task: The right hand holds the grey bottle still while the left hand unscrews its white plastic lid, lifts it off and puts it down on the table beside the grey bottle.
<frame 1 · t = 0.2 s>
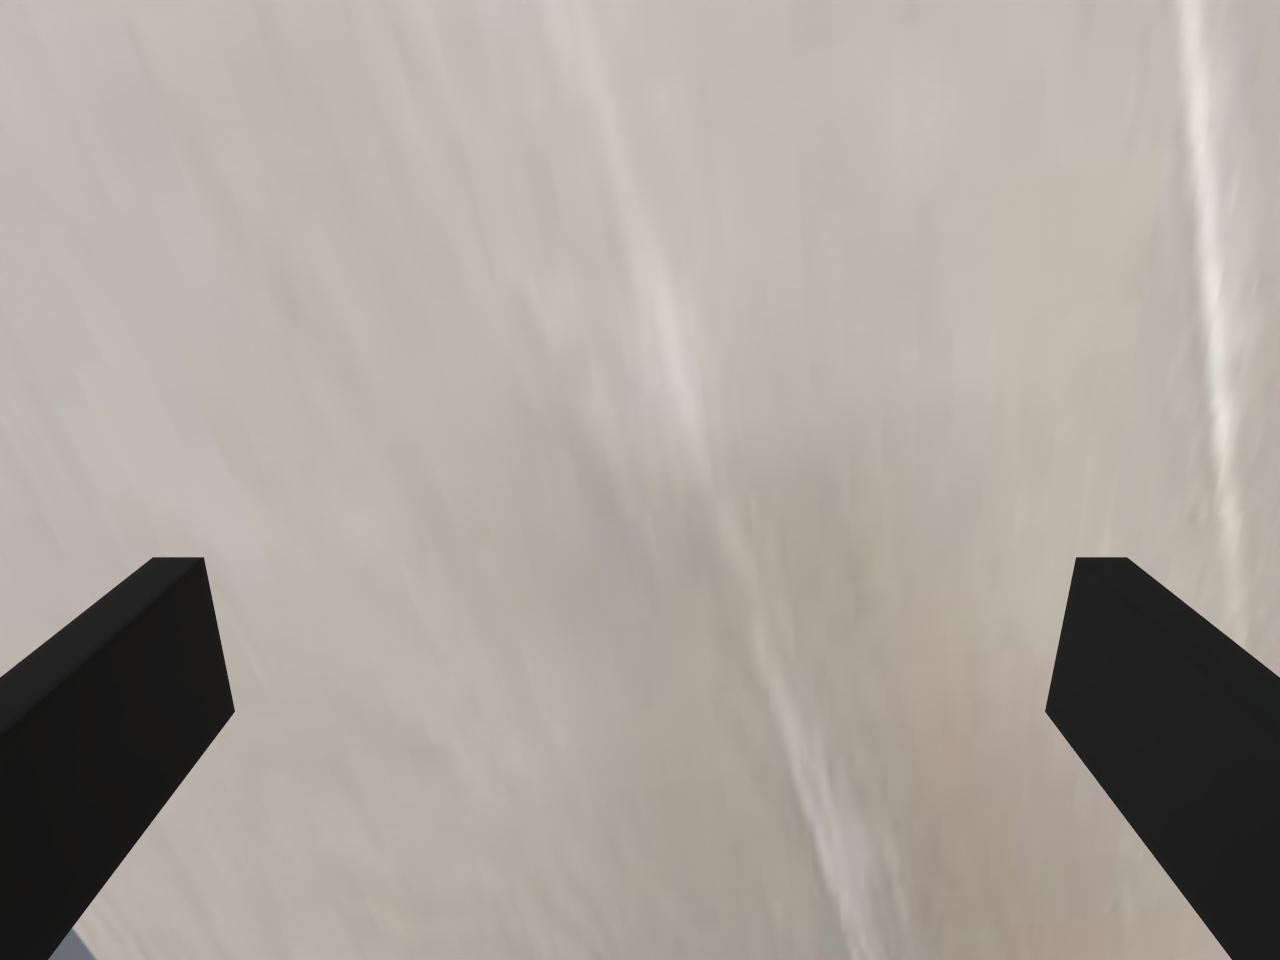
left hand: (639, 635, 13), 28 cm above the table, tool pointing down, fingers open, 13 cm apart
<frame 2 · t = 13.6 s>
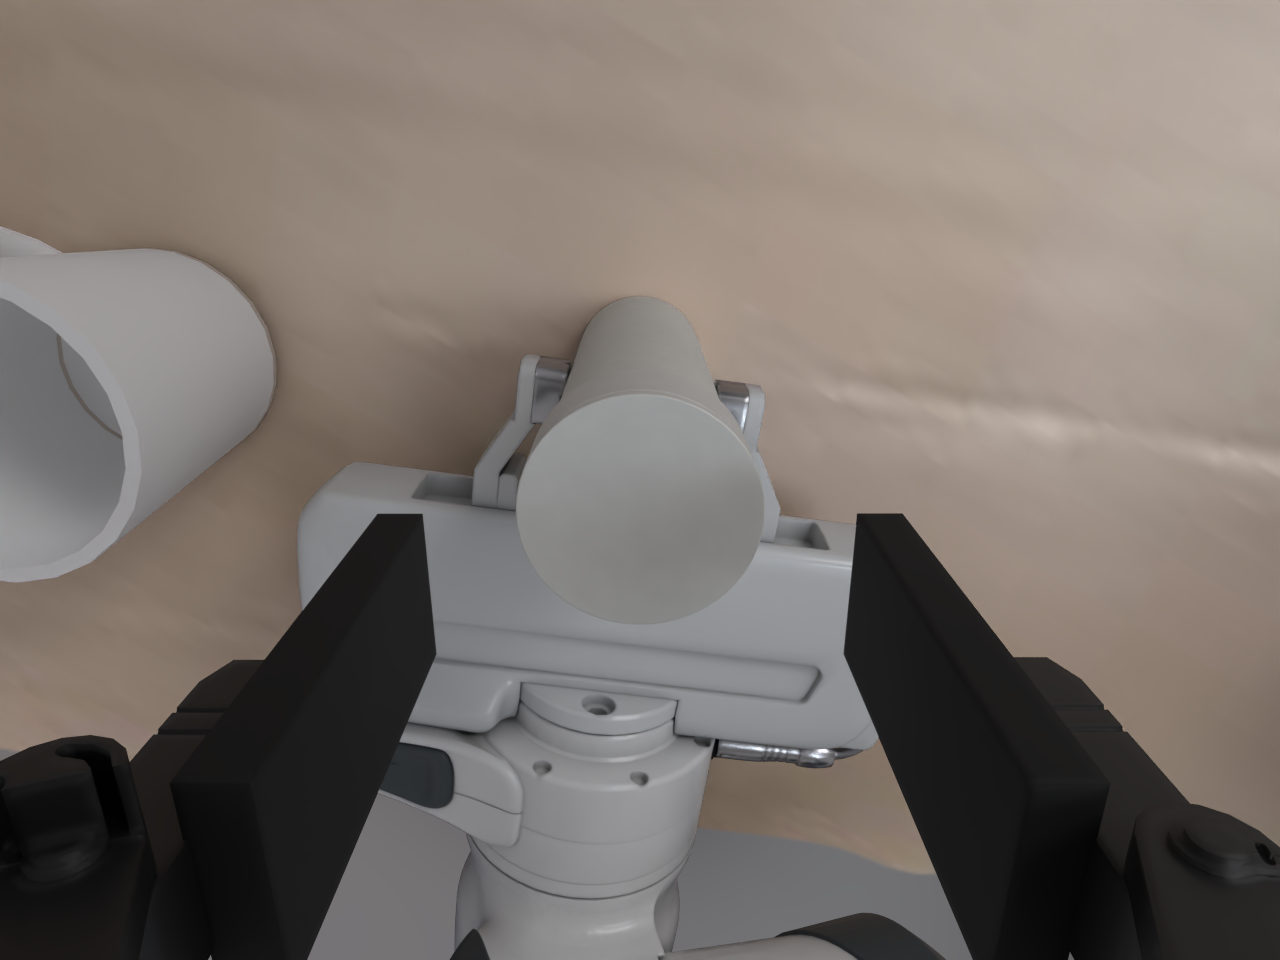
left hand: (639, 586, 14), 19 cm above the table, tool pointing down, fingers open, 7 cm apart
right hand: (642, 372, 26), fingers closed on grey bottle, 5 cm apart
lid: (640, 509, 18), point 16 cm above the table, screwed on, not yet turned
mug: (159, 331, 32), on the table
grey bottle: (639, 356, 32), on the table, touching right hand
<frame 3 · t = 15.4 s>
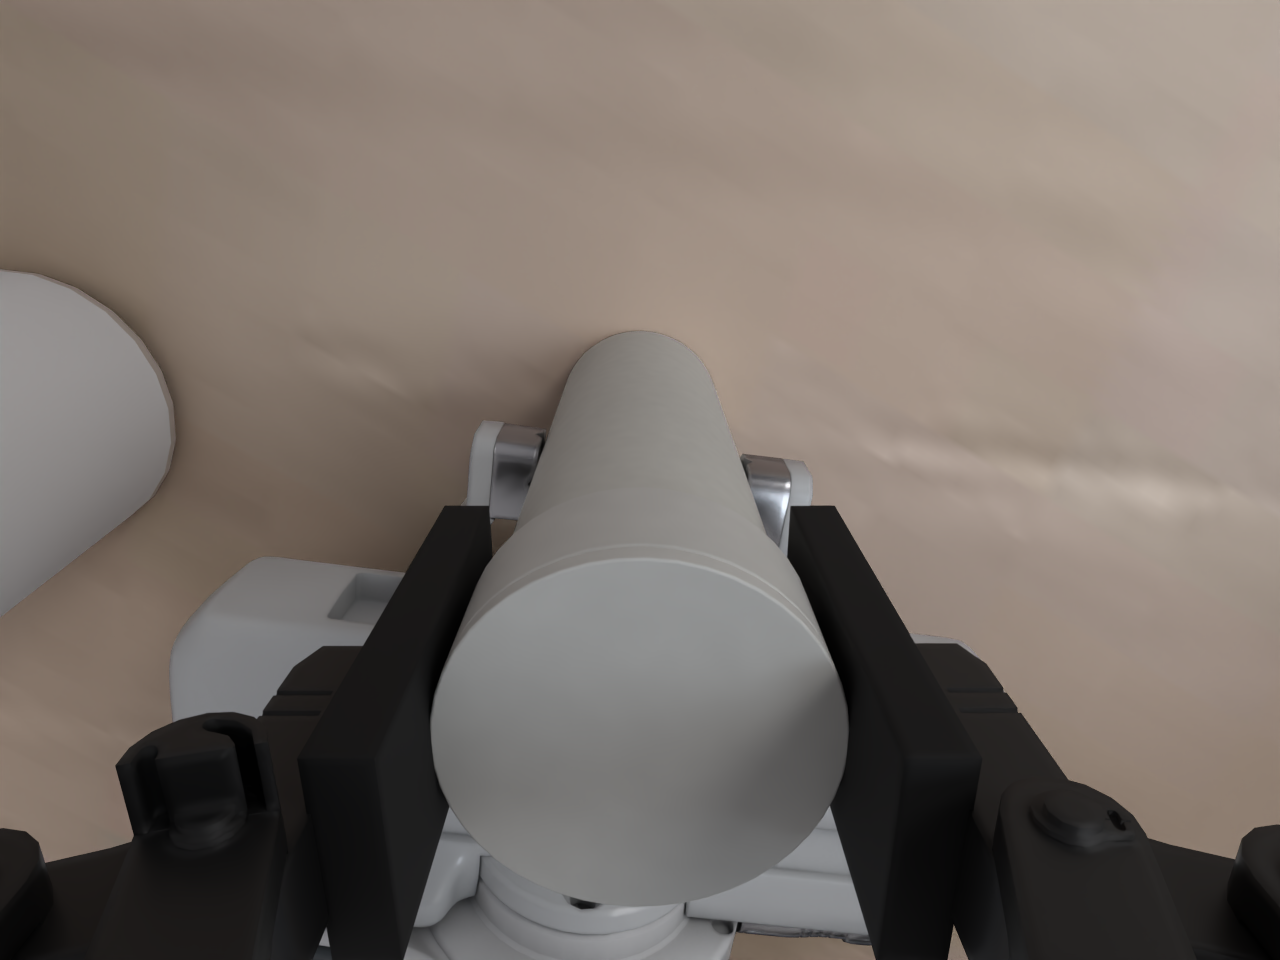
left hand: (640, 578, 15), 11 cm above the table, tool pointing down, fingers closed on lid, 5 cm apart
lid: (639, 730, 11), point 16 cm above the table, screwed on, not yet turned, touching left hand
mug: (24, 374, 25), on the table
grey bottle: (639, 407, 25), on the table, touching right hand
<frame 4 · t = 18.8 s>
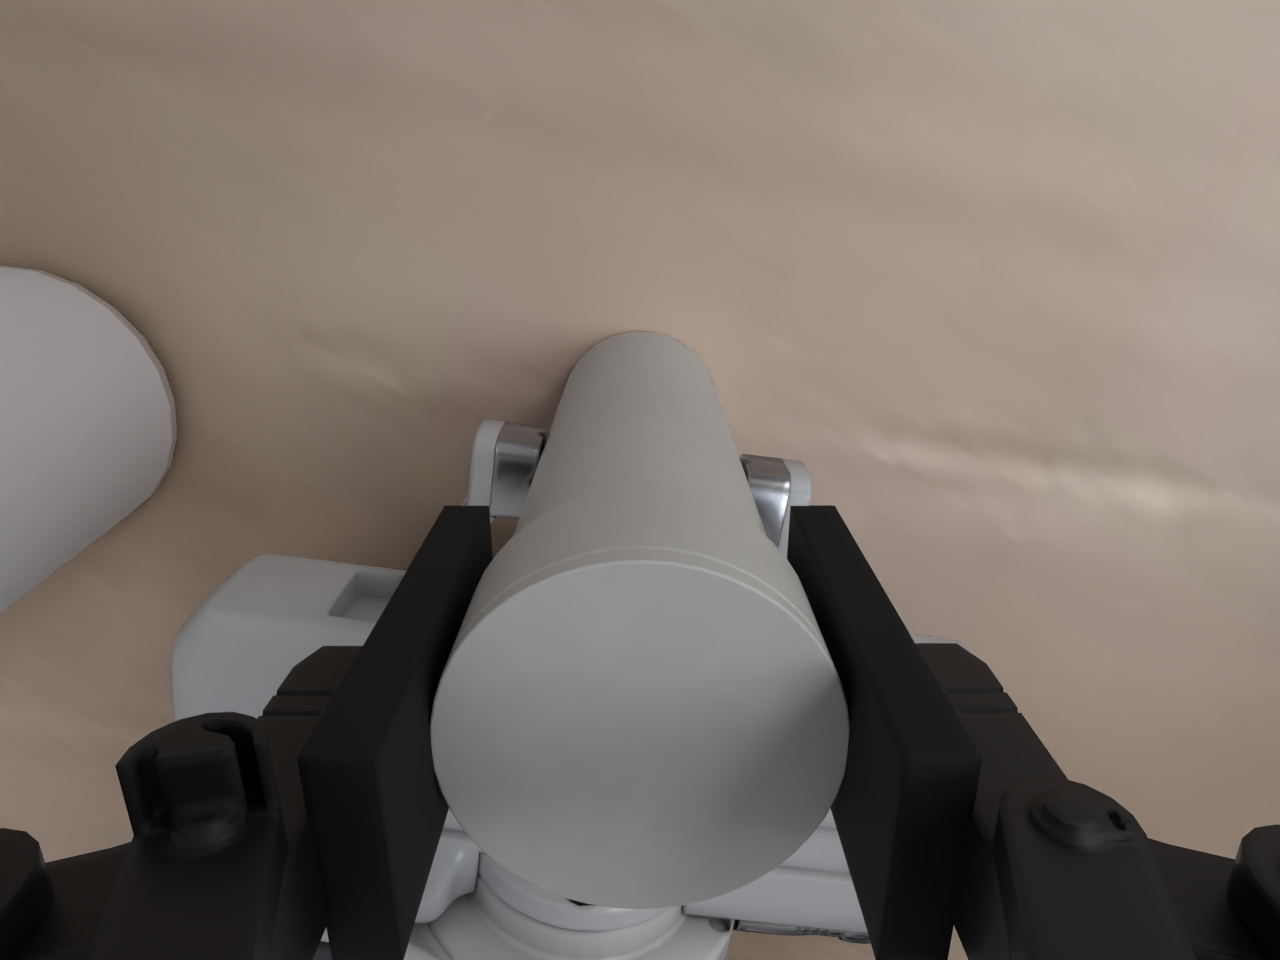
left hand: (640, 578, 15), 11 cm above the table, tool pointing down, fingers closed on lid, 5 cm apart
lid: (639, 733, 11), point 16 cm above the table, turned 99° so far, risen 0.1 cm, still on its thread, touching left hand
mug: (26, 371, 25), on the table
grey bottle: (639, 407, 25), on the table, touching right hand
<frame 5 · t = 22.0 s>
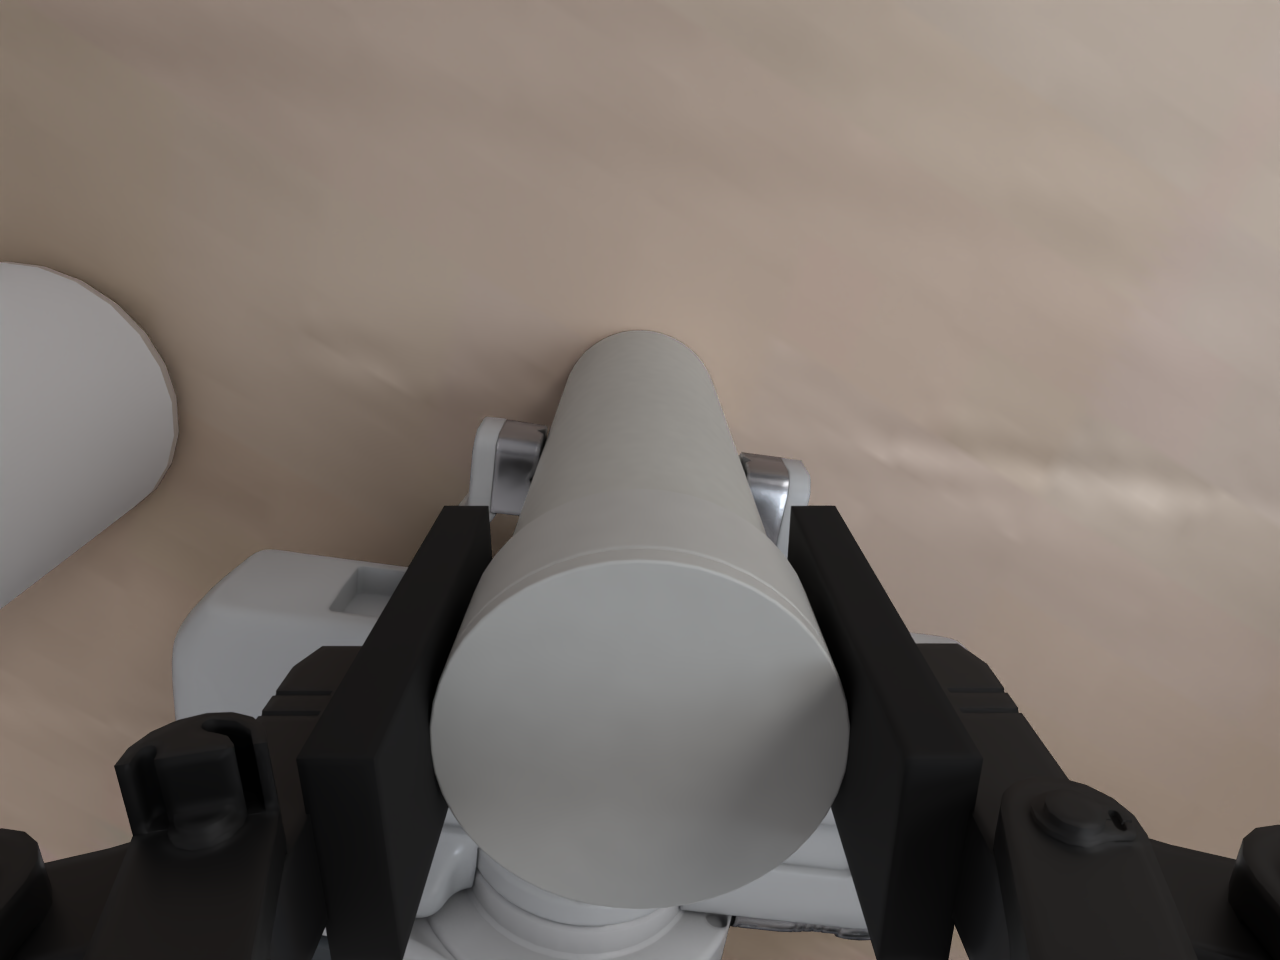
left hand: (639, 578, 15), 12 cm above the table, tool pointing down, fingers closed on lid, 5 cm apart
lid: (639, 732, 11), point 16 cm above the table, turned 198° so far, risen 0.3 cm, still on its thread, touching left hand
mug: (28, 366, 25), on the table
grey bottle: (639, 406, 25), on the table, touching right hand
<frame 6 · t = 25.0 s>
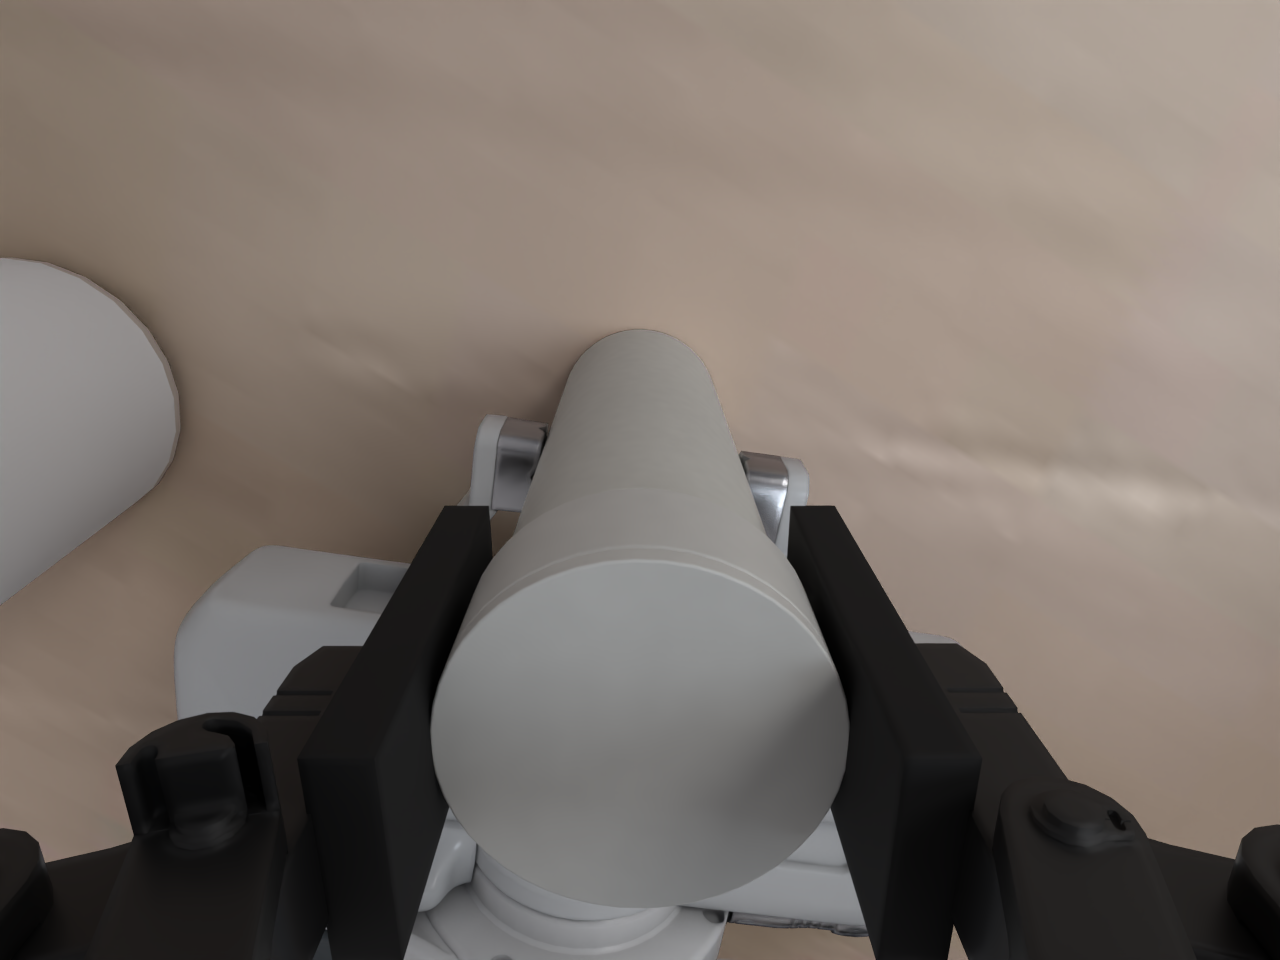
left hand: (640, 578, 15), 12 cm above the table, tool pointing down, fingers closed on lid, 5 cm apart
lid: (639, 732, 11), point 16 cm above the table, turned 297° so far, risen 0.4 cm, still on its thread, touching left hand
mug: (31, 362, 25), on the table
grey bottle: (639, 404, 26), on the table, touching right hand
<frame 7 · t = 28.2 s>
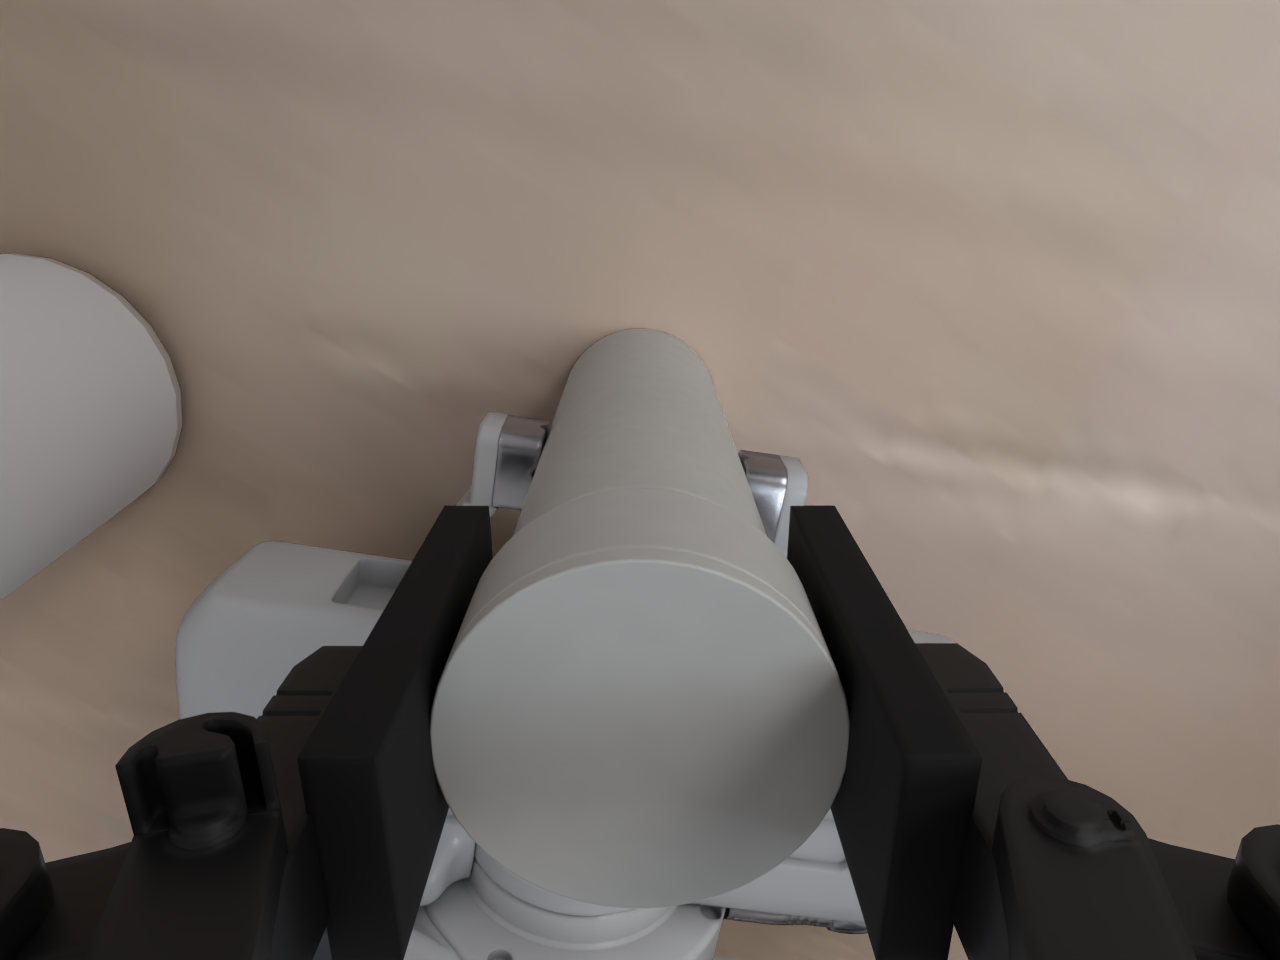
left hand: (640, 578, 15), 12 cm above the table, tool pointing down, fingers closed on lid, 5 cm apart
lid: (639, 732, 11), point 16 cm above the table, turned 395° so far, risen 0.5 cm, still on its thread, touching left hand
mug: (33, 358, 25), on the table
grey bottle: (639, 403, 26), on the table, touching right hand
when the left hand's fingers open (0 cm above the table, at t = 35.1 s): lid drops 2 cm, point 2 cm above the table.
when the right hand's fingers open (7 cm above the table, at t = 35.8 s): grey bottle stays where it is, on the table.
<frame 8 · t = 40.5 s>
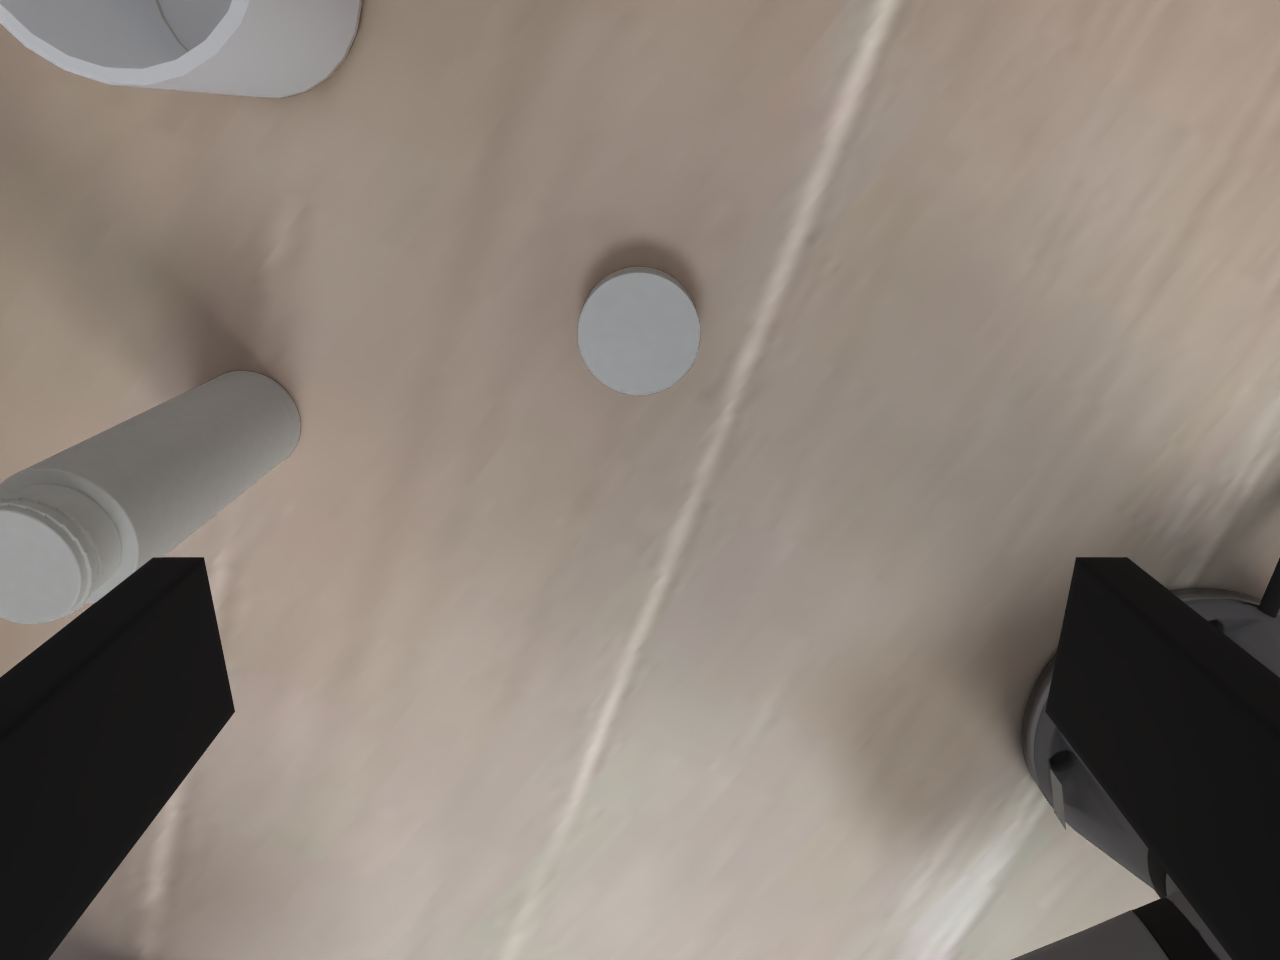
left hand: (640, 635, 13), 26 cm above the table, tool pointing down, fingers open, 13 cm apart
lid: (638, 333, 35), point 2 cm above the table, off its thread
grey bottle: (250, 419, 39), on the table
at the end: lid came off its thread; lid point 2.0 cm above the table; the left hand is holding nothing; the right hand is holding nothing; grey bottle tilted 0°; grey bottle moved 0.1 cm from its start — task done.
